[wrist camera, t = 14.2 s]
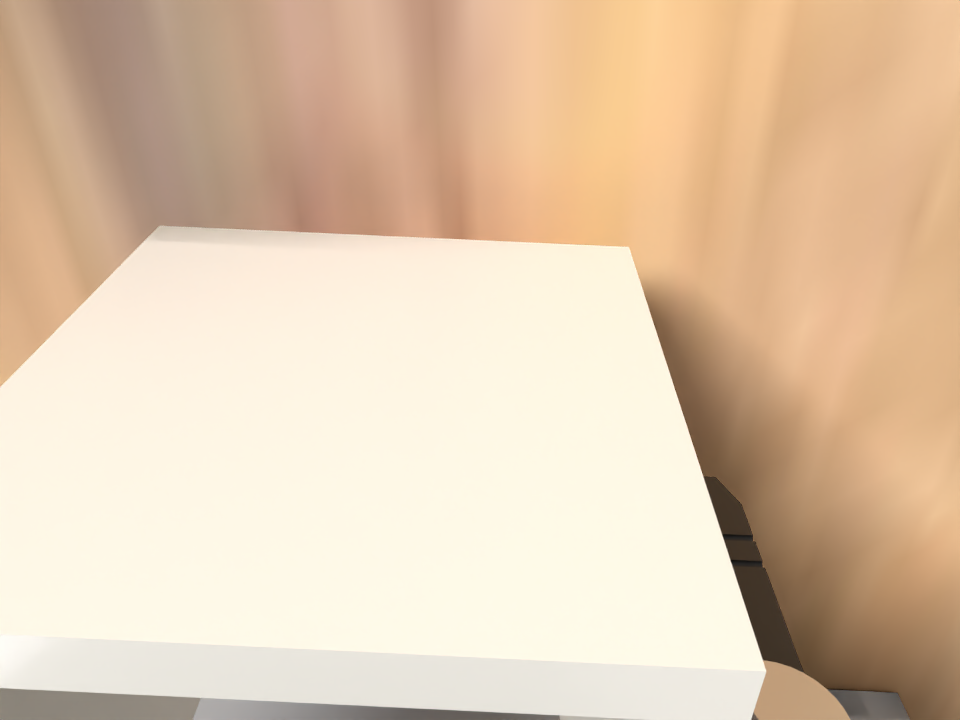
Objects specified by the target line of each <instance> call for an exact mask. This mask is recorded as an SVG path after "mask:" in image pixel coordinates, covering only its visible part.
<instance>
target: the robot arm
mask: <svg viewBox="0 0 960 720" xmlns="http://www.w3.org/2000/svg"><path fill="white" fill-rule="evenodd" d="M704 480H705V484H706V487H707V490H708V493H709V496H710V499H711V502H712V505H713V508H714V511H715V514H716V517H717V521H718V524H719V527H720V530H721V533H722V536H723V539H724V542H725V545H726V548H727V551H728V554H729V558H730V561H731V564H732V567H733V570H734V573H735V576H736V579H737V582H738V585H739V588H740V592H741V595H742V598H743V601H744V604H745V607H746V610H747V613H748V616H749V619H750V622H751V625H752V629H753V632H754V635H755V638H756V641H757V644H758V647H759V650H760V653H761V656H762V659H763V662H764V666H765V669H766V674H765V677H764V680H763V684H762V687H761V690H760V693H759V696H758V699H757V702H756V706H755V709H754V712H753V715H752V718H751V720H850V718H849V716H848V714H847V713H846V711H845V709H844V708H843V706H842V705H841V704H840V703H839V701H838V700H837V699H836V698H835V697H834V696H833V695H832V694H831V693H830V692H829V691H828V690H827V689H826V688H825V687H824V686H822V685H821V684H820V683H819V682H817V681H816V680H814V679H813V678H811V677H810V676H808V675H806V674H805V673H804V671H803V669H802V667H801V664H800V661H799V659H798V656H797V653H796V650H795V648H794V645H793V642H792V640H791V637H790V634H789V632H788V629H787V626H786V623H785V621H784V618H783V615H782V613H781V610H780V607H779V605H778V602H777V599H776V596H775V594H774V591H773V588H772V586H771V583H770V580H769V578H768V575H767V572H766V569H765V568H763V567H762V559H761V556H760V553H759V551H758V548H757V545H756V542H753V534H752V532H751V529H750V526H749V524H748V521H747V518H746V515H745V513H744V510H743V507H742V505H741V504H740V502H739V501H738V500H737V499H736V498H735V497H734V496H733V495H732V494H731V493H730V492H729V491H728V490H727V489H726V488H725V487H724V486H723V485H722V484H721V483H720V481H719V480H718V479H717V478H716V477H704Z"/></svg>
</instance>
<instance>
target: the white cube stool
mask: <svg viewBox="0 0 960 720" xmlns="http://www.w3.org/2000/svg"><path fill="white" fill-rule="evenodd" d="M765 674H766V669H765V666H764V662H763V659H762V656H761V653H760V650H759V647H758V644H757V641H756V638H755V635H754V632H753V629H752V625H751V622H750V619H749V616H748V613H747V610H746V607H745V604H744V601H743V598H742V595H741V592H740V588H739V585H738V582H737V579H736V576H735V573H734V570H733V567H732V564H731V561H730V558H729V554H728V551H727V548H726V545H725V542H724V539H723V536H722V533H721V530H720V527H719V524H718V521H717V517H716V514H715V511H714V508H713V505H712V502H711V499H710V496H709V493H708V490H707V487H706V484H705V480H704V477H703V474H702V471H701V468H700V465H699V462H698V459H697V456H696V453H695V450H694V447H693V443H692V440H691V437H690V434H689V431H688V428H687V425H686V422H685V419H684V416H683V413H682V410H681V406H680V403H679V400H678V397H677V394H676V391H675V388H674V385H673V382H672V379H671V376H670V372H669V369H668V366H667V363H666V360H665V357H664V354H663V351H662V348H661V345H660V342H659V339H658V335H657V332H656V329H655V326H654V323H653V320H652V317H651V314H650V311H649V308H648V305H647V302H646V298H645V295H644V292H643V289H642V286H641V283H640V280H639V277H638V274H637V271H636V268H635V265H634V261H633V258H632V255H631V252H630V249H629V247H617V246H595V245H573V244H551V243H529V242H507V241H485V240H463V239H441V238H419V237H398V236H376V235H354V234H332V233H310V232H288V231H266V230H244V229H222V228H200V227H178V226H159V227H158V228H157V229H156V230H155V231H154V232H153V233H152V234H151V235H150V236H149V237H148V238H147V239H146V240H145V241H144V242H143V243H142V244H141V245H140V246H139V247H138V248H137V249H136V250H135V251H134V252H133V253H132V254H131V255H130V256H129V257H128V258H127V259H126V260H125V261H124V262H123V263H122V264H121V265H120V266H119V267H118V268H117V269H116V270H115V271H114V272H113V273H112V274H111V275H110V276H109V277H108V278H107V279H106V280H105V281H104V282H103V283H102V284H101V286H100V287H99V288H98V289H97V290H96V291H95V292H94V293H93V294H92V295H91V296H90V297H89V298H88V299H87V300H86V301H85V302H84V303H83V304H82V305H81V306H80V307H79V308H78V309H77V310H76V311H75V312H74V313H73V314H72V315H71V316H70V317H69V318H68V319H67V320H66V321H65V322H64V323H63V324H62V325H61V326H60V327H59V328H58V329H57V330H56V331H55V332H54V333H53V334H52V335H51V336H50V337H49V338H48V339H47V340H46V341H45V342H44V343H43V344H42V345H41V346H40V347H39V348H38V349H37V350H36V351H35V352H34V354H33V355H32V356H31V357H30V358H29V359H28V360H27V361H26V362H25V363H24V364H23V365H22V366H21V367H20V368H19V369H18V370H17V371H16V372H15V373H14V374H13V375H12V376H11V377H10V378H9V379H8V380H7V381H6V382H5V383H4V384H3V385H2V386H1V387H0V720H193V717H194V715H195V712H196V709H197V707H198V704H199V701H200V699H201V698H214V699H235V700H255V701H276V702H296V703H317V704H337V705H358V706H378V707H398V708H419V709H439V710H460V711H480V712H501V713H521V714H542V715H560V720H751V718H752V715H753V712H754V709H755V706H756V702H757V699H758V696H759V693H760V690H761V687H762V684H763V680H764V677H765Z"/></svg>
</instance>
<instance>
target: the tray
mask: <svg viewBox="0 0 960 720" xmlns="http://www.w3.org/2000/svg"><path fill="white" fill-rule="evenodd" d="M827 690H828V691H829V692H830V693H831V694H832V695H833V696H834V697H835V698H836V699H837V700H838V701H839V703H840V704H841V705H842V706H843V708H844V709H845V711H846V713H847V714H848V716H849V718H850V720H910V718H909V716H908V714H907V712H906V710H905V708H904V706H903V704H902V701H901V699H900V697H899V695H898V693H893V692H872V691H851V690H830V689H827ZM193 720H560V715H542V714H521V713H501V712H480V711H460V710H439V709H419V708H398V707H378V706H358V705H337V704H317V703H296V702H276V701H255V700H235V699H214V698H201V699H200V701H199V704H198V707H197V709H196V712H195V715H194V717H193Z"/></svg>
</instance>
